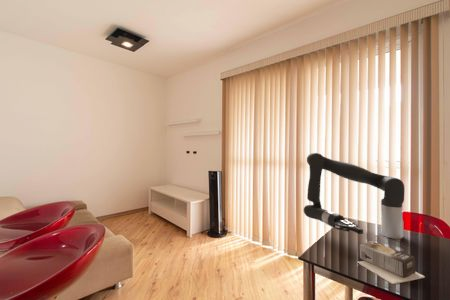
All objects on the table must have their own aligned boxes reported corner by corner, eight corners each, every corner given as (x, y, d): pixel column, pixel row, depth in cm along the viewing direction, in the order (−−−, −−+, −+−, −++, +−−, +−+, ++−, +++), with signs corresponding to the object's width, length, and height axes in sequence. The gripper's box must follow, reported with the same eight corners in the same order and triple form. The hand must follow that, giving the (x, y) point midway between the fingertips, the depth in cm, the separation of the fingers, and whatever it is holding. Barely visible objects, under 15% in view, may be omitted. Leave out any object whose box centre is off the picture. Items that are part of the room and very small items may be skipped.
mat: (386, 258, 91) (386, 257, 91) (424, 277, 77) (424, 276, 77) (357, 262, 88) (357, 261, 88) (392, 284, 73) (392, 283, 73)
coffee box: (371, 240, 94) (415, 256, 80) (371, 253, 94) (415, 272, 80) (359, 244, 90) (404, 262, 76) (359, 258, 90) (404, 279, 76)
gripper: (322, 213, 108) (350, 225, 92) (342, 211, 112) (373, 222, 95) (322, 227, 108) (350, 241, 92) (342, 225, 112) (373, 238, 95)
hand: (361, 232), depth 93 cm, fingers closed
